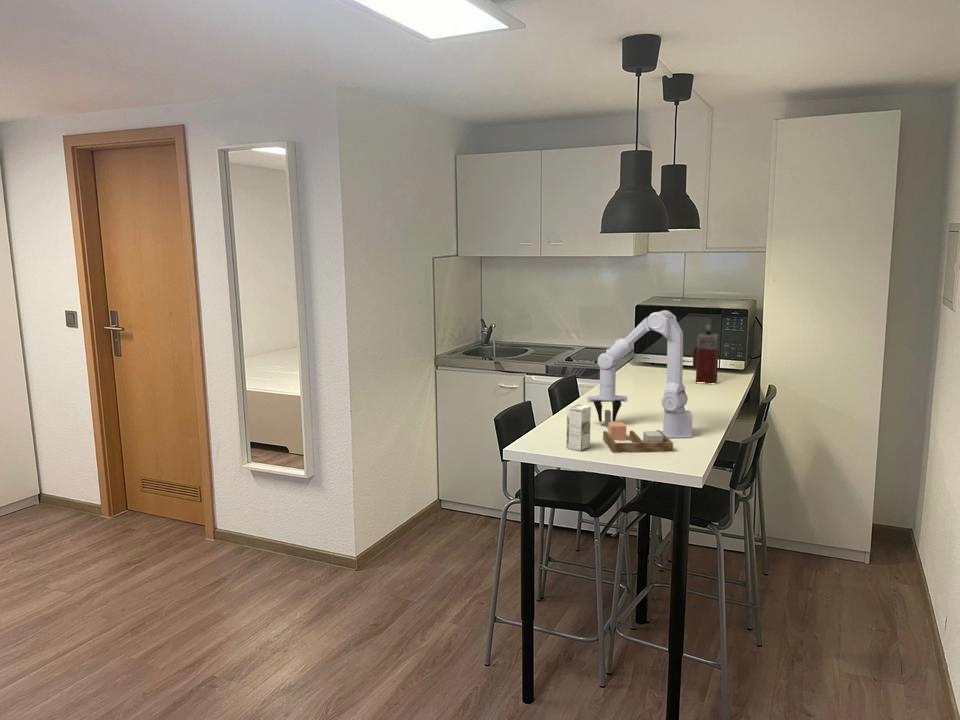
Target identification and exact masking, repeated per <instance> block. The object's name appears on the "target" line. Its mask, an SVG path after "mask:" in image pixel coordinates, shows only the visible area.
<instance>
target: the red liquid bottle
mask: <svg viewBox="0 0 960 720" xmlns="http://www.w3.org/2000/svg"><path fill="white" fill-rule="evenodd" d="M719 339H720V334H719V333H712V325H711V324H706V325H705V332H701V333H699V334H698V335H697V339H696V341H697V342H696V343H697V344H696V345H695V346H694V349H693V352H692V367H693V368H696V370H695V371H696V373H695V383H696V382H705V383H716V384H717V382H718V367H719V366H718V365H719V362H718V361H719V345H720V344H719V343H720V342H719V341H720V340H719ZM716 381H717V382H716Z"/></svg>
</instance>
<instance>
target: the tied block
mask: <svg viewBox="0 0 960 720" xmlns="http://www.w3.org/2000/svg"><path fill="white" fill-rule="evenodd" d="M611 420H612V412H611V410H610V409H605V410H604V427H605V426H606V427H608V428H607V432H608V434H609V435H610V436H611V437H612V439H613V440H619V441H627V425H626V424H625V423H624V422H623V421H611ZM606 427H605V428H606Z"/></svg>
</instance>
